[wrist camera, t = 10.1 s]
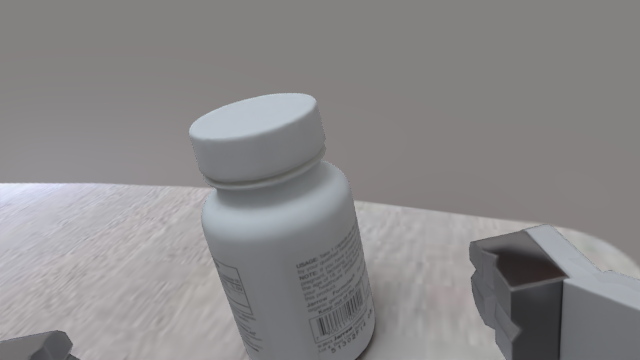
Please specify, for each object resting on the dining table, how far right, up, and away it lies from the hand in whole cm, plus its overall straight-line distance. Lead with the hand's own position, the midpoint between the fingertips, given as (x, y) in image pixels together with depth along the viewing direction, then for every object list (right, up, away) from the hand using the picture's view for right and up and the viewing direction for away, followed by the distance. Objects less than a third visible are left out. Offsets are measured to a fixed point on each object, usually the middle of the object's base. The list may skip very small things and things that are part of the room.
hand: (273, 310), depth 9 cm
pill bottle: (+1, -3, +6) cm, 7 cm away
